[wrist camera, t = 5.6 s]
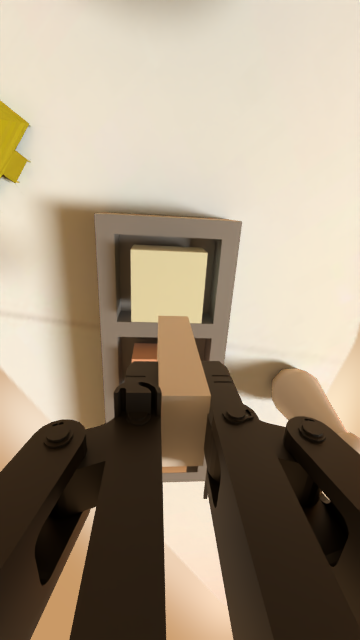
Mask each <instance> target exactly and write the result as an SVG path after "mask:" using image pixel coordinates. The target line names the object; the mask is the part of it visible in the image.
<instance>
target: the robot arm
mask: <svg viewBox="0 0 360 640" xmlns="http://www.w3.org/2000/svg"><path fill="white" fill-rule="evenodd" d="M204 454H205V460H206V465H207V470H206V478H205V487H204V499H207V495H208V497H209V503H210V509H211V514H212V520H213V526H214V531H215V537H216V543H217V548H218V554H219V560H220V565H221V571H222V577H223V582H224V588H225V594H226V599H227V605H228V610H229V616H230V622H231V627H232V633H233V639H234V640H360V454H359V453H358V452H357V451H355V450H354V449H353V448H352V447H351V446H350V445H349V444H348V443H347V442H345V441H344V440H343V439H342V438H341V437H340V436H339V435H338V434H336V433H335V432H334V431H333V430H332V429H331V428H330V427H328V426H327V425H325V424H324V423H323V422H321V421H318V420H316V419H314V418H310V417H305V416H296V417H293V418H291V419H289V421H288V422H287V425H286V427H282V426H278V425H273V424H269V423H266V422H263V421H261V420H259V418H258V416H257V415H256V413H255V412H254V411H253V410H252V409H251V408H249V407H248V406H246V405H244V404H243V403H242V401H241V398H240V396H239V394H238V392H237V389H236V387H235V385H234V383H233V380H232V378H231V377H230V373H229V371H228V369H227V367H226V366H224V365H223V364H222V363H221V362H220V361H201V360H200V356H199V353H198V349H197V346H196V342H195V339H194V336H193V332H192V329H191V325H190V322H189V318H188V316H158V346H157V361H133V362H132V364H131V365H130V366H129V367H128V368H127V372H126V377H125V382H124V383H122V384H121V385H119V386H118V387H117V388H116V389H115V391H114V418H113V419H112V420H111V421H109V422H107V423H105V424H103V425H100V426H98V427H94V428H90V429H86V430H85V428H84V426H83V425H82V424H81V423H80V422H77V421H74V420H59V421H54V422H51V423H49V424H47V425H45V426H43V427H42V428H41V429H39V430H38V431H37V432H36V433H35V434H34V435H33V436H32V437H31V438H30V439H29V440H28V442H27V443H26V444H25V445H24V446H23V447H22V448H21V450H20V451H19V452H18V453H17V454H16V455H15V456H14V457H13V459H12V460H11V461H10V462H9V463H8V464H7V465H6V466H5V468H4V469H3V470H2V471H1V472H0V640H30V639H31V637H32V634H33V632H34V630H35V628H36V626H37V624H38V622H39V620H40V617H41V615H42V613H43V611H44V609H45V607H46V605H47V602H48V600H49V598H50V596H51V594H52V592H53V590H54V587H55V585H56V583H57V581H58V579H59V576H60V574H61V572H62V570H63V568H64V566H65V564H66V562H67V559H68V557H69V555H70V553H71V551H72V549H73V547H74V545H75V542H76V540H77V538H78V536H79V534H80V532H81V530H82V527H83V525H84V523H85V521H86V519H87V517H88V515H89V512H90V509H91V508H93V507H96V511H95V516H94V521H93V526H92V531H91V536H90V541H89V546H88V550H87V556H86V561H85V566H84V570H83V575H82V581H81V585H80V590H79V595H78V600H77V605H76V610H75V615H74V620H73V625H72V630H71V635H70V640H166V619H165V618H166V615H165V572H164V527H163V484H162V467H176V466H203V463H204ZM322 491H323V492H324V494H325V495H326V496H327V497H328V498H329V500H328V499H327V498H326V497H325V496H324V494H323V493H322Z"/></svg>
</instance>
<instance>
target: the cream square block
mask: <svg viewBox="0 0 360 640" xmlns="http://www.w3.org/2000/svg"><path fill="white" fill-rule="evenodd" d="M207 256H208V253H207V252H206V251H205V250H204V249H203V248H199V247H178V246H156V245H135V244H134V245H133V247H132V248H131V322H158V316H188V318H189V322H190V323H202V312H203V300H204V289H205V278H206V267H207Z"/></svg>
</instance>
